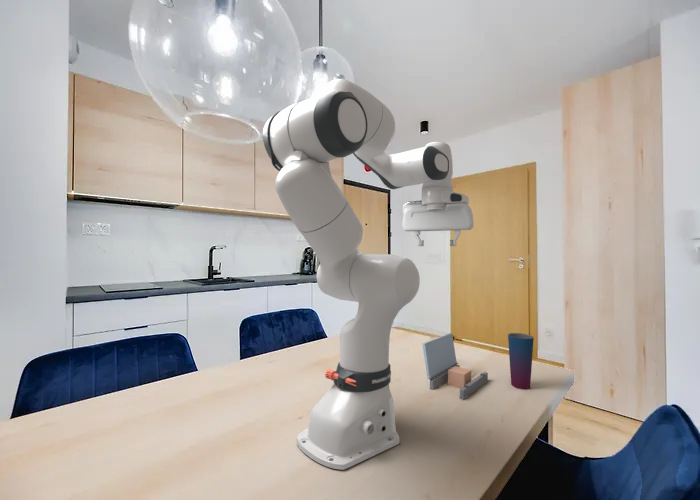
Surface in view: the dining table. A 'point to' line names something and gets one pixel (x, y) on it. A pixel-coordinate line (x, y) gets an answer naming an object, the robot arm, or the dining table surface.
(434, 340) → the cover
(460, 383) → the block
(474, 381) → the grey rail
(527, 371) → the cup
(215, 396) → the dining table surface
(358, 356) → the robot arm
